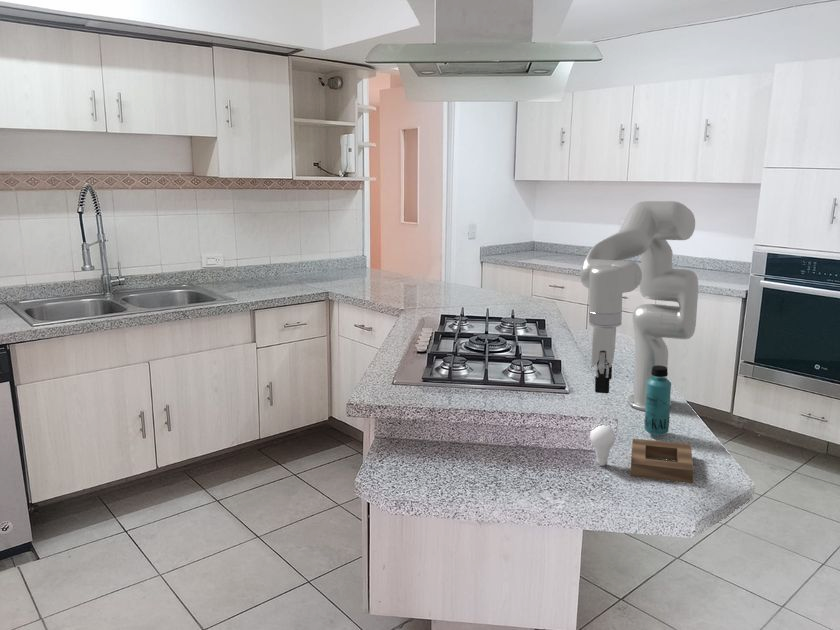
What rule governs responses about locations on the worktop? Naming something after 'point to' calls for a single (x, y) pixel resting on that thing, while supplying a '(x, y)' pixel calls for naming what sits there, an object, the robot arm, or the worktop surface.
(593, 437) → the lightbulb
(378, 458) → the worktop surface
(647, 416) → the beverage bottle
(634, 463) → the socket block
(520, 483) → the worktop surface
